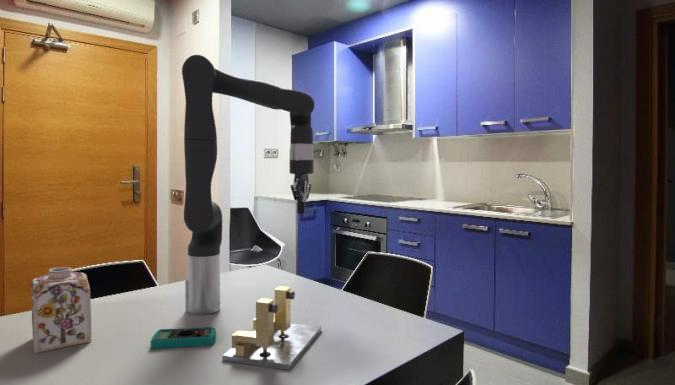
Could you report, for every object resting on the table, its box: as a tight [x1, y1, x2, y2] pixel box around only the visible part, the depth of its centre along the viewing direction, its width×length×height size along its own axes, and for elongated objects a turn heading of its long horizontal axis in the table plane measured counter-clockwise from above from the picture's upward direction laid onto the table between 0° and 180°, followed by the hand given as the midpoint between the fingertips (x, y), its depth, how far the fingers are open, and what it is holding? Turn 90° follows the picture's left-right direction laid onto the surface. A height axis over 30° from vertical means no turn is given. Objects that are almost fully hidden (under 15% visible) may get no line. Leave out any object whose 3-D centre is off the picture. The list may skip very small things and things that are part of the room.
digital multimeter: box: [150, 326, 217, 350], centre depth 105 cm, size 7×15×3 cm, turn 100°
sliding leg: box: [252, 285, 296, 336], centre depth 105 cm, size 10×3×12 cm, turn 75°
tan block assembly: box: [231, 297, 279, 357], centre depth 104 cm, size 10×22×12 cm, turn 165°
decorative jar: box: [30, 266, 93, 354], centre depth 105 cm, size 12×12×18 cm
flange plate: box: [221, 322, 322, 371], centre depth 104 cm, size 16×23×1 cm
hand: (301, 213), depth 134 cm, fingers closed
